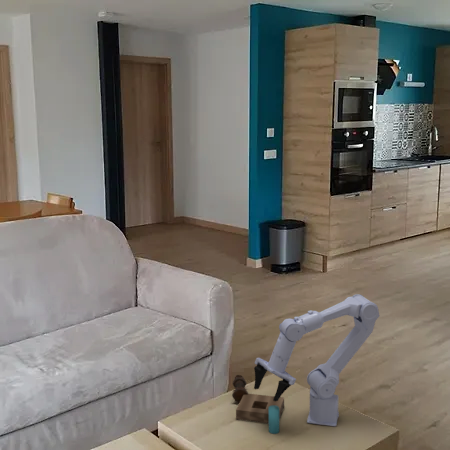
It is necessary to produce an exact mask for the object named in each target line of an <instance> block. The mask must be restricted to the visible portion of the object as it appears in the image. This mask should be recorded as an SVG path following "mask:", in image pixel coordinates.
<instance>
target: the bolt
mask: <svg viewBox="0 0 450 450" xmlns="http://www.w3.org/2000/svg"><path fill="white" fill-rule="evenodd" d="M232 385H233V387H234V390H233V392H232V393H231V396H232V398H233V400H234V402H235V403H236V404H239V403H240V401H241V399H242V397H243V395H248V394H249V393H248V391H247V388H246V386H247V381H246V380H245V378H244V376H242V375H240V374H237V375H235V377H234V379H233V381H232Z"/></svg>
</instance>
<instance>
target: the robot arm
mask: <svg viewBox="0 0 450 450" xmlns="http://www.w3.org/2000/svg"><path fill="white" fill-rule="evenodd" d="M379 311H380V310H379V307H378V305H377V303H375V302H373V301H372V300H369V299H368V298H366V297H365V296H364V295H362V294H358V293H355V294H353V295H352V296H348V297H346V298H345V299H344V300H343V301H341V302H338V303H337V304H334V305H332V306H330V307H328V308H326V309H323V310H322V311H317V310H312V309H311V310H307V312H306V313H304V314H301V315H300V316H294V317H293V318H285V319H284V320H283V321H282V322H281V323H279V327H278V329H279V334H278V338H277V340H276V343H275V344H274V347H273V350H272V353H271V355H270V358H269V359H268V360H269V361H267V360H265V359H262V358H261V357H256V358H255V361H254V364H255V365H254V367H253V369H254V384H253V389H254V390H258V389H259V390H260V386H261V385H262V382H263V379H264V377H265V375H266V374H267V372H269V373H271V374H273V375H275V376H276V377H278V378H280V380H278V384H277V388H276V392H275V394H274V399H273V401H278V399H279V398H280V397H282V395H283V394H284V393H285V392H286V391H287V390H288V388H289V389H290V387H291V386H294V385H295V384H296V381H297V378H295V377H294V376H292V375H291V374H290V373H288V372H287V371H286V369H287V367H288V364H289V361H290V359H291V356H292V353H293V351H294V348H295V347H296V343H297V342H299V341H300V340H301V339H302V338H303V336H304V335H306V334H308V333H311V332H313V331H315V330H318V329H321V328H322V327H323V325H324V323H326V322H328V321H331V320H336V319H338V318H341V317H344V316H349V317H352V318H353V322H354V327H353V328H352V329H351V330H350V331H349V333H348V334H347V335H346V336H345V338H344V339H343V340H342V341H341V343H339V346H338V347H337V348H336V349H335V350H334V352H333V353H332V354H331V356H330V357H329V358H328V359H327V361H326V362H325V363H321V364H319V365H317V367H316V368H314V369H312V370H311V371H309V372H308V373H307V376H306V381H307V384H308V385H309V386H310V387H309V389H310V390H309V412H308V416H307V420H306V423H307V424H313V425H321V426H329V427H330V426H331V427H337V423H338V419H339V417H340V416H339V415H340V412H339V395H338V394H335V392H336V388H337V387H338V385H339V384H340V374H341V373H342V371H343V370H344V369H345V368H346V366H347V365H348V364H349V362H350V361H351V359H353V357H354V356H355V354H356V353H357V352H358V351H359V350H360V348H361V347H362V346H363V344H365V342H366V341H367V340H368V338H369V337H370V335H372V333H373V331H374V328H375V325H376V321H377V320H378V319H379V318H380V312H379Z"/></svg>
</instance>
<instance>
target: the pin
mask: <svg viewBox="0 0 450 450" xmlns="http://www.w3.org/2000/svg"><path fill="white" fill-rule="evenodd" d="M268 433H269V434H272V435H276V434H279V433H280V420H279V407H278V406H276V405H272V406H269V424H268Z"/></svg>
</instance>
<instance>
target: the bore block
mask: <svg viewBox="0 0 450 450" xmlns="http://www.w3.org/2000/svg"><path fill="white" fill-rule="evenodd" d="M274 396H275V395H274ZM274 396H273V395H266V394H265V395H264V394H257V393H248V395H243V397H242V399H241V401H240V403H238V406H237V407H236V408H235V420H238V421H244V422H245V421H246V422H252V423H253V422H255V423H261V424H268V425H269V406H272V405H276V406H278V407H279V421H280V420H281V417H282V414H283V411H284V410H285V397H283V396H280V398H279V399H278V401H273V399H274Z"/></svg>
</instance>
